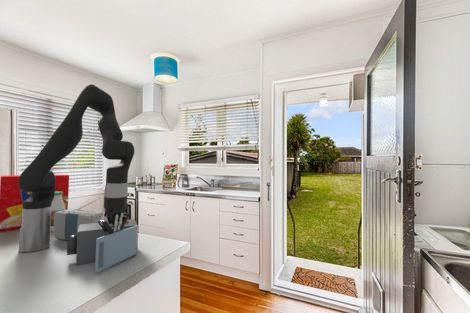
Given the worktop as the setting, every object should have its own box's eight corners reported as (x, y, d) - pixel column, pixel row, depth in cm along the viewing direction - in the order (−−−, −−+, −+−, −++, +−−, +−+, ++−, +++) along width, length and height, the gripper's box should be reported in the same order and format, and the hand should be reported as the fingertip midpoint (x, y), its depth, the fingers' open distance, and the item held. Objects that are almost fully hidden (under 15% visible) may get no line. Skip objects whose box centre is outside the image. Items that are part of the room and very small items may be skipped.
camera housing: (65, 267, 79) (67, 230, 79) (69, 256, 87) (70, 223, 88) (136, 254, 91) (137, 222, 91) (133, 246, 99) (134, 216, 100)
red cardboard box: (-3, 232, 112) (0, 176, 113) (-1, 228, 118) (1, 175, 119) (67, 223, 132) (69, 175, 132) (65, 220, 137) (67, 174, 138)
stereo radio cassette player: (52, 240, 104) (54, 197, 104) (69, 234, 112) (70, 194, 112) (88, 245, 99) (90, 200, 100) (103, 239, 107) (105, 197, 108)
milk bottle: (48, 228, 121) (50, 191, 121) (66, 226, 124) (67, 190, 125) (43, 232, 114) (45, 193, 114) (62, 230, 117) (64, 192, 118)
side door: (98, 272, 74) (100, 239, 74) (94, 271, 74) (96, 238, 75) (139, 253, 90) (140, 225, 90) (135, 252, 90) (136, 225, 91)
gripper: (110, 199, 75) (107, 250, 75) (137, 193, 88) (134, 237, 88) (92, 196, 77) (89, 247, 77) (120, 191, 89) (118, 234, 89)
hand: (113, 242), depth 82 cm, fingers closed
